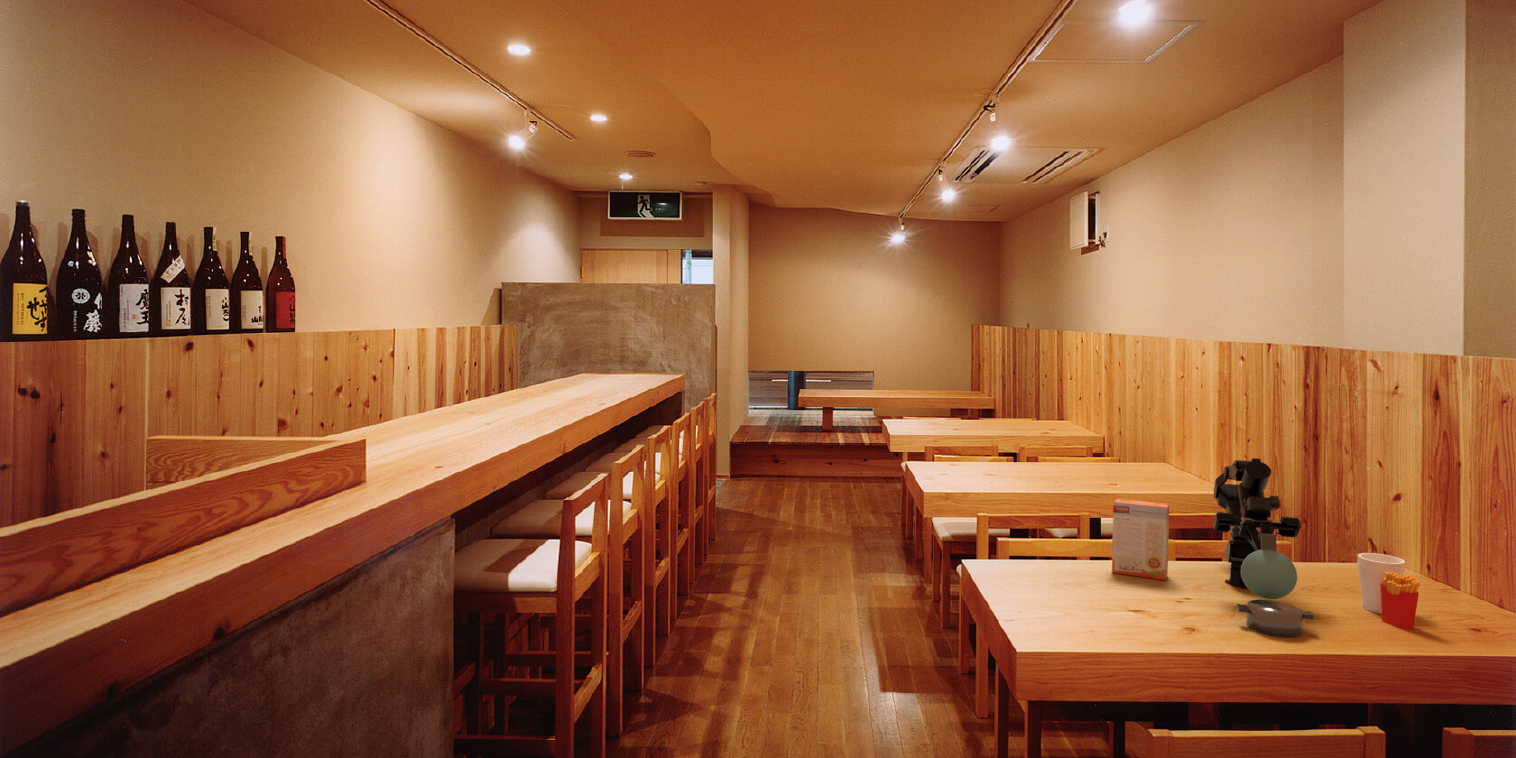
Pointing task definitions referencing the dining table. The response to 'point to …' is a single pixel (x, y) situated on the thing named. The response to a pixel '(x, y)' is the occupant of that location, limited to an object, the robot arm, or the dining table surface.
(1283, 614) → the cooker pot
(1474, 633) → the dining table surface
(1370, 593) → the foam cup
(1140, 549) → the cracker box
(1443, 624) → the dining table surface
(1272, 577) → the lid
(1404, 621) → the french fries
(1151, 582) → the dining table surface
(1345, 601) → the dining table surface
